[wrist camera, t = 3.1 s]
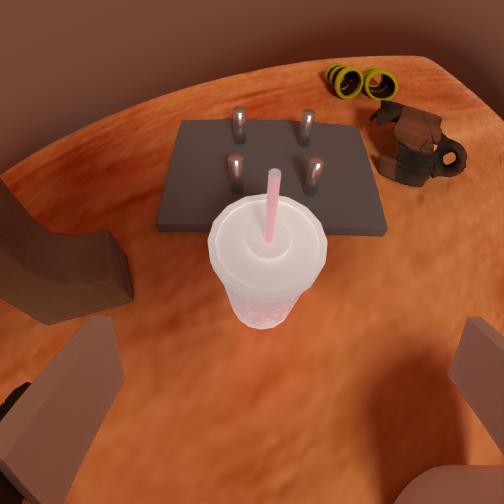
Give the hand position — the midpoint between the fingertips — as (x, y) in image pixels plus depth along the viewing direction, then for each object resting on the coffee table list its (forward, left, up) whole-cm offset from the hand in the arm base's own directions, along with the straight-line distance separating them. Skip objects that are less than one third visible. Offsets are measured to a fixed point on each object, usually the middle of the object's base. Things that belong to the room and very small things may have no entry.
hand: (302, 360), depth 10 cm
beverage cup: (-1, +6, -12) cm, 14 cm away
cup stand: (0, +19, -12) cm, 23 cm away
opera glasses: (+13, +37, -13) cm, 41 cm away
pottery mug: (+16, +23, -12) cm, 30 cm away
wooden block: (-16, +6, -12) cm, 21 cm away
